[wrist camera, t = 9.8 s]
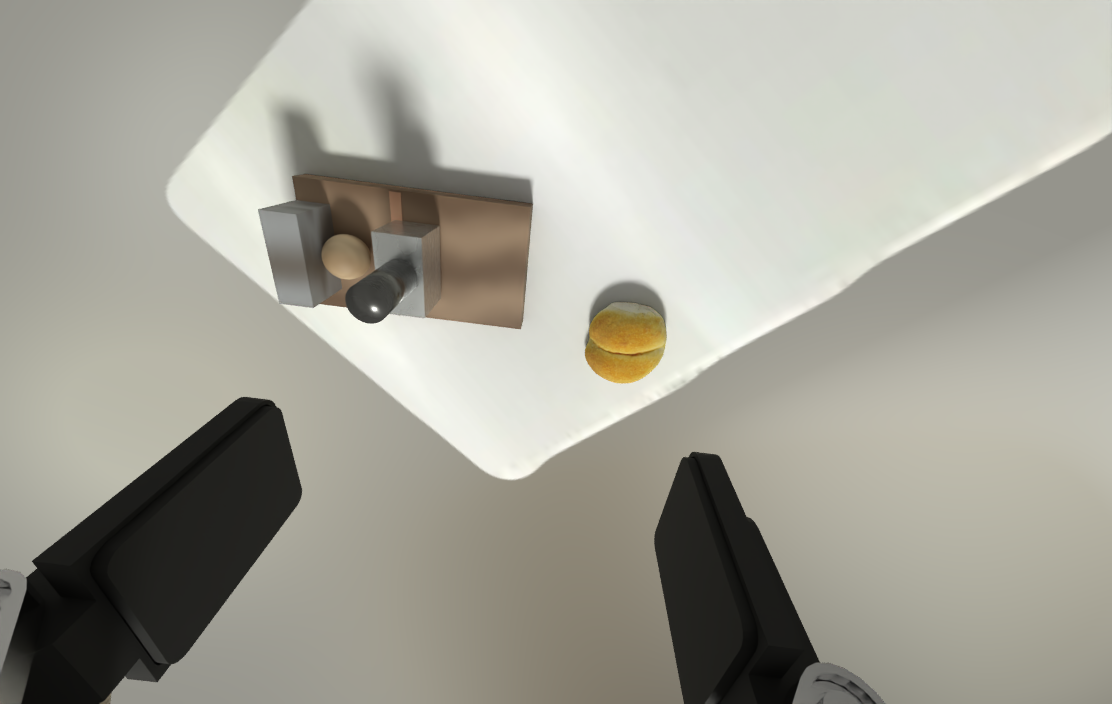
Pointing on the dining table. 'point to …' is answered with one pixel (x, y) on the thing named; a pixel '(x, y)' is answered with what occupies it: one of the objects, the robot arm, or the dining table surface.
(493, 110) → the dining table surface
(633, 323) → the bread roll
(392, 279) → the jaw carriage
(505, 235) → the base
